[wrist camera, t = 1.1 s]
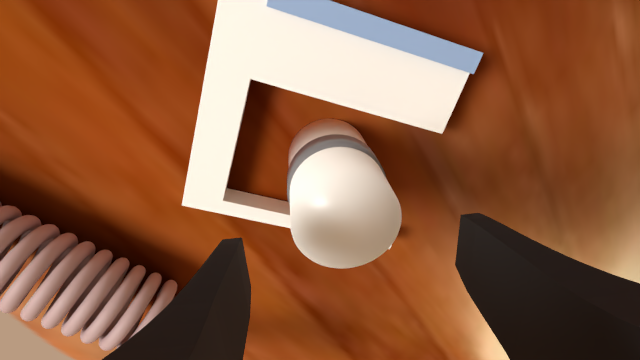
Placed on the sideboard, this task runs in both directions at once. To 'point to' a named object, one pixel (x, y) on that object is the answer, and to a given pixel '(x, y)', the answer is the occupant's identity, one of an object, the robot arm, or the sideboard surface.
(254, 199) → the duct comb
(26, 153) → the sideboard surface
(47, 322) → the coil
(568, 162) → the sideboard surface
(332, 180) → the banded white cylinder
